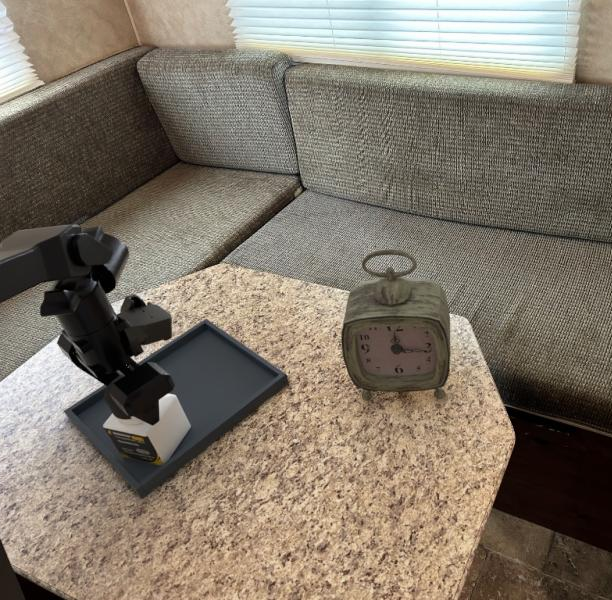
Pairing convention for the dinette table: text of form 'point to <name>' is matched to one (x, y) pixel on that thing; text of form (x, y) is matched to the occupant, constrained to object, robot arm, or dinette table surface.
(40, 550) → the dinette table surface
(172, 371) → the tray
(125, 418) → the medicine bottle
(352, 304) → the tabletop clock
